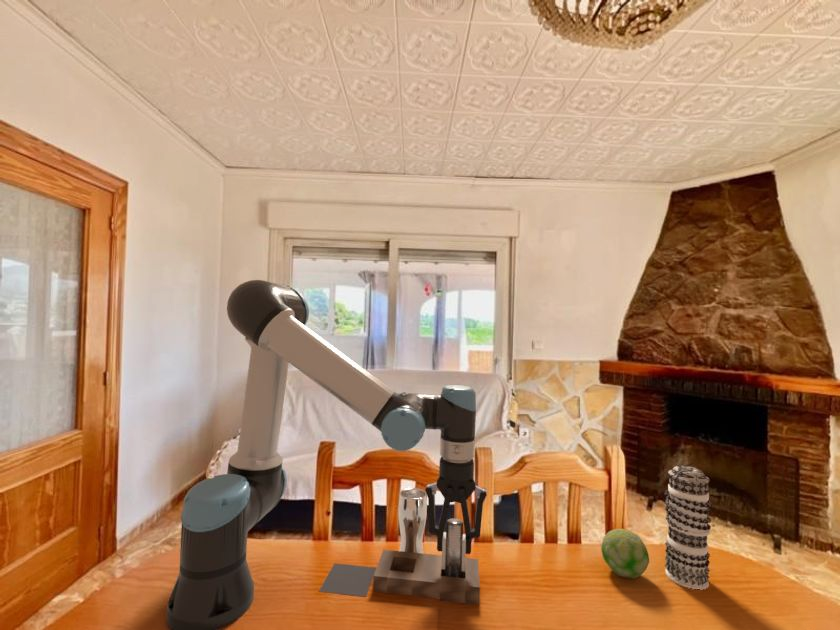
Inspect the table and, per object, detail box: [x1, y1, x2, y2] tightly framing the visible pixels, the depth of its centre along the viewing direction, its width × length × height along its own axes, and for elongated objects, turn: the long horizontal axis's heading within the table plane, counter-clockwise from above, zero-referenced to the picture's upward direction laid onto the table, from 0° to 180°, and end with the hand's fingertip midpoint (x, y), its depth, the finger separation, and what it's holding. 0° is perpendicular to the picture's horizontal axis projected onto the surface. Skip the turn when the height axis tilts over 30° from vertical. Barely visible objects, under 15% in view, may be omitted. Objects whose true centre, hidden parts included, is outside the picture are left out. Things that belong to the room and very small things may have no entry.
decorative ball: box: [600, 528, 650, 579], centre depth 94 cm, size 10×10×10 cm
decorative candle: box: [664, 465, 713, 591], centre depth 93 cm, size 9×9×25 cm
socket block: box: [372, 549, 481, 606], centre depth 88 cm, size 22×10×4 cm, turn 84°
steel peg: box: [445, 517, 464, 578], centre depth 87 cm, size 4×4×12 cm
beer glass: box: [398, 487, 428, 554], centre depth 98 cm, size 7×7×15 cm
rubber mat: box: [318, 562, 377, 598], centre depth 88 cm, size 10×10×1 cm
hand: (453, 566), depth 87 cm, fingers closed on steel peg, 3 cm apart
